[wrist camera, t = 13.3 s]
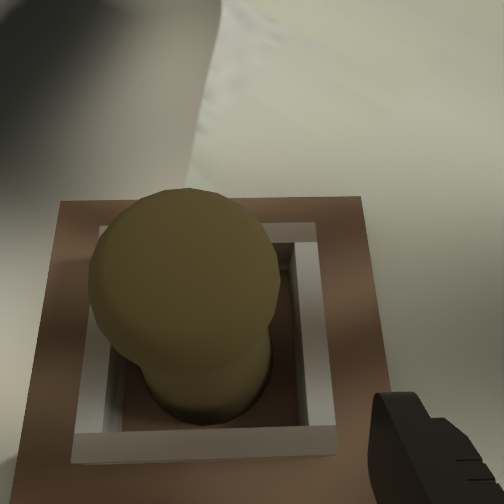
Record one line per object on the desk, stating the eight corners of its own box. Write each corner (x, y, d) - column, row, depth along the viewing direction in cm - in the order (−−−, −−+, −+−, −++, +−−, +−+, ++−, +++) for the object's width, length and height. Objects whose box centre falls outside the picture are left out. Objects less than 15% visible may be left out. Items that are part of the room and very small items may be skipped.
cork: (183, 456, 19) (122, 437, 10) (118, 336, 22) (13, 220, 12) (300, 375, 21) (353, 287, 11) (228, 271, 23) (219, 119, 13)
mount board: (70, 215, 26) (38, 167, 22) (354, 210, 27) (375, 162, 22) (17, 553, 19) (-44, 575, 15) (402, 538, 20) (444, 555, 16)
